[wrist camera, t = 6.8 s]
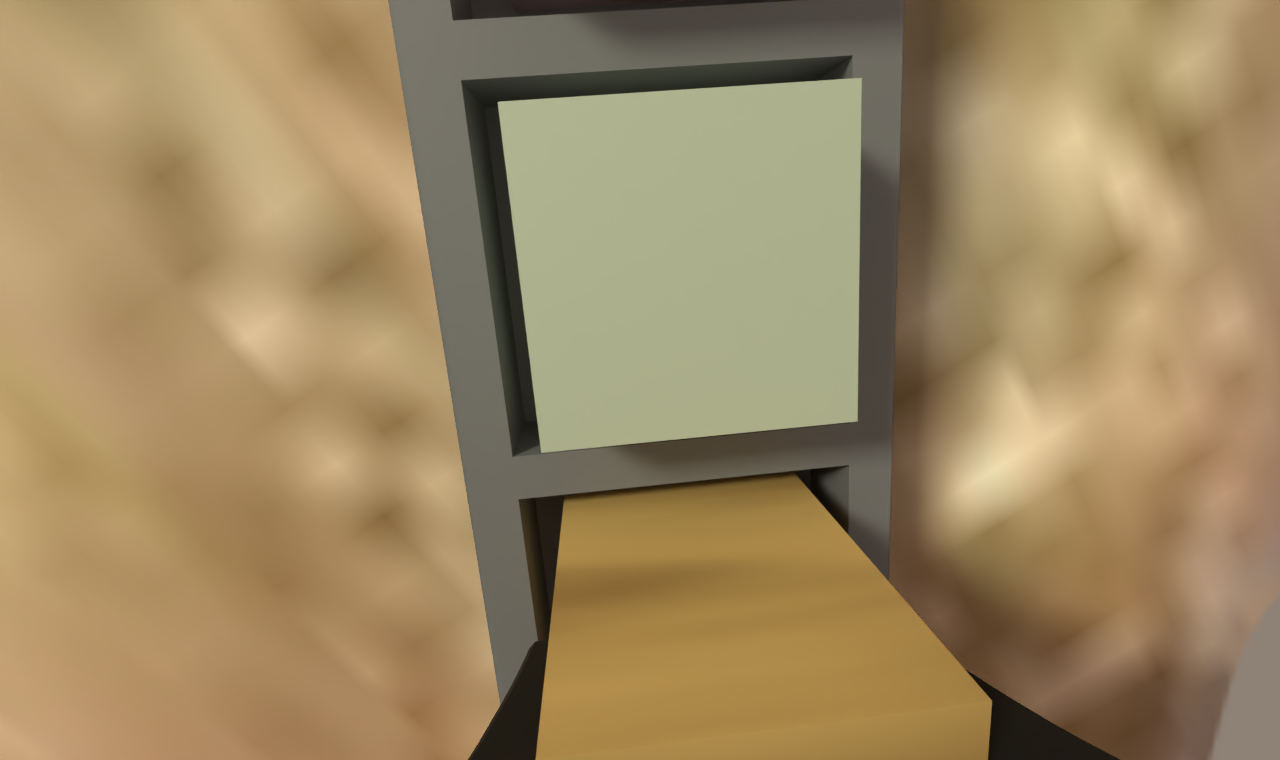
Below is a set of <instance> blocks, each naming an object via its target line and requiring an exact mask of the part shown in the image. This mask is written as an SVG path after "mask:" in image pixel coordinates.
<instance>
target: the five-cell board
mask: <svg viewBox="0 0 1280 760" xmlns="http://www.w3.org/2000/svg"><path fill="white" fill-rule="evenodd" d="M388 2H389V8H390V14H391V20H392V27H393V33H394V39H395V45H396V52H397V58H398V64H399V71H400V77H401V83H402V89H403V96H404V102H405V108H406V115H407V121H408V127H409V133H410V140H411V146H412V152H413V158H414V165H415V171H416V177H417V184H418V190H419V196H420V202H421V209H422V215H423V221H424V227H425V234H426V240H427V246H428V253H429V259H430V265H431V271H432V278H433V284H434V290H435V296H436V303H437V309H438V315H439V322H440V328H441V334H442V340H443V347H444V353H445V359H446V366H447V372H448V378H449V384H450V391H451V397H452V403H453V409H454V416H455V422H456V428H457V435H458V441H459V447H460V453H461V460H462V466H463V472H464V478H465V485H466V491H467V497H468V504H469V510H470V516H471V522H472V529H473V535H474V541H475V547H476V554H477V560H478V566H479V573H480V579H481V585H482V591H483V598H484V604H485V610H486V617H487V623H488V629H489V635H490V642H491V648H492V654H493V660H494V667H495V673H496V679H497V686H498V692H499V698H500V704H502V702H503V700H504V698H505V696H506V694H507V692H508V691H509V689H510V687H511V685H512V683H513V681H514V679H515V677H516V675H517V673H518V671H519V669H520V667H521V665H522V663H523V661H524V659H525V657H526V655H527V652H528V650H529V648H530V647H531V646H532V645H533V644H534V642H536V641H544V640H549V632H550V623H551V614H552V605H553V596H554V587H555V577H556V568H557V559H558V550H559V541H560V532H561V523H562V514H563V504H564V495H571V494H581V493H590V492H600V491H609V490H619V489H629V488H638V487H648V486H657V485H667V484H676V483H686V482H696V481H705V480H715V479H724V478H734V477H744V476H753V475H763V474H772V473H782V472H791V471H793V472H794V473H795V474H796V475H797V476H798V478H799V479H800V480H801V481H802V482H803V483H804V484H805V486H806V487H807V488H808V489H809V490H810V491H811V492H812V494H813V495H814V496H815V497H816V498H817V499H818V501H819V502H820V503H821V504H822V505H823V506H824V507H825V509H826V510H827V511H828V512H829V513H830V514H831V516H832V517H833V518H834V519H835V520H836V521H837V522H838V524H839V525H840V526H841V527H842V528H843V529H844V531H845V532H846V533H847V534H848V535H849V536H850V537H851V539H852V540H853V541H854V542H855V543H856V544H857V546H858V547H859V548H860V549H861V550H862V551H863V552H864V554H865V555H866V556H867V557H868V558H869V559H870V561H871V562H872V563H873V564H874V565H875V566H876V567H877V569H878V570H879V571H880V572H881V573H882V574H883V576H884V577H885V578H886V579H887V580H888V576H889V540H890V503H891V466H892V429H893V392H894V356H895V319H896V282H897V245H898V209H899V172H900V135H901V98H902V61H903V25H904V0H388Z"/></svg>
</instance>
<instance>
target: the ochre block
mask: <svg viewBox="0 0 1280 760" xmlns="http://www.w3.org/2000/svg"><path fill="white" fill-rule="evenodd" d="M991 710H992V700H991V699H990V698H989V697H988V696H987V694H986V693H985V692H984V691H983V690H982V689H981V687H980V686H979V685H978V684H977V683H976V682H975V681H974V679H973V678H972V677H971V676H970V675H969V674H968V672H967V671H966V670H965V669H964V668H963V667H962V666H961V664H960V663H959V662H958V661H957V660H956V659H955V657H954V656H953V655H952V654H951V653H950V652H949V651H948V649H947V648H946V647H945V646H944V645H943V644H942V642H941V641H940V640H939V639H938V638H937V637H936V636H935V634H934V633H933V632H932V631H931V630H930V629H929V627H928V626H927V625H926V624H925V623H924V622H923V621H922V619H921V618H920V617H919V616H918V615H917V614H916V612H915V611H914V610H913V609H912V608H911V607H910V606H909V604H908V603H907V602H906V601H905V600H904V599H903V597H902V596H901V595H900V594H899V593H898V592H897V591H896V589H895V588H894V587H893V586H892V585H891V584H890V582H889V581H888V580H887V579H886V578H885V577H884V576H883V574H882V573H881V572H880V571H879V570H878V569H877V567H876V566H875V565H874V564H873V563H872V562H871V561H870V559H869V558H868V557H867V556H866V555H865V554H864V552H863V551H862V550H861V549H860V548H859V547H858V546H857V544H856V543H855V542H854V541H853V540H852V539H851V537H850V536H849V535H848V534H847V533H846V532H845V531H844V529H843V528H842V527H841V526H840V525H839V524H838V522H837V521H836V520H835V519H834V518H833V517H832V516H831V514H830V513H829V512H828V511H827V510H826V509H825V507H824V506H823V505H822V504H821V503H820V502H819V501H818V499H817V498H816V497H815V496H814V495H813V494H812V492H811V491H810V490H809V489H808V488H807V487H806V486H805V484H804V483H803V482H802V481H801V480H800V479H799V478H798V476H797V475H796V474H795V473H794V472H793V471H791V472H782V473H772V474H763V475H753V476H744V477H734V478H724V479H715V480H705V481H696V482H686V483H676V484H667V485H657V486H648V487H638V488H629V489H619V490H609V491H600V492H590V493H581V494H571V495H564V504H563V514H562V523H561V532H560V541H559V550H558V559H557V568H556V577H555V587H554V596H553V605H552V614H551V623H550V632H549V641H548V650H547V660H546V669H545V678H544V687H543V696H542V705H541V714H540V723H539V733H538V742H537V751H536V760H988V751H989V737H990V724H991Z"/></svg>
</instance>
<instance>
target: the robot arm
mask: <svg viewBox="0 0 1280 760" xmlns="http://www.w3.org/2000/svg"><path fill="white" fill-rule="evenodd" d="M548 641H549V640H544V641H536V642H534V644H533V645H532V646H531V647H530V648H529V650H528V652H527V655H526V657H525V659H524V661H523V663H522V665H521V667H520V669H519V671H518V673H517V675H516V677H515V679H514V681H513V683H512V685H511V687H510V689H509V691H508V692H507V694H506V696H505V698H504V700H503V702H502V704H501V705H500V707H499V709H498V711H497V712H496V714H495V716H494V717H493V719H492V721H491V723H490V724H489V726H488V728H487V729H486V731H485V733H484V734H483V736H482V738H481V740H480V741H479V743H478V745H477V746H476V748H475V749H474V751H473V753H472V754H471V756H470V757H469V759H468V760H536V751H537V742H538V733H539V723H540V714H541V705H542V696H543V687H544V678H545V669H546V660H547V650H548ZM965 670H966V669H965ZM966 671H967V670H966ZM967 672H968V674H969V675H970V676H971V677H972V678H973V679H974V681H975V682H976V683H977V684H978V685H979V686H980V687H981V689H982V690H983V691H984V692H985V693H986V694H987V696H988V697H989V698H990V699H991V700H992V710H991V724H990V737H989V751H988V760H1120V759H1118V758H1116V757H1114V756H1112V755H1110V754H1108V753H1106V752H1104V751H1102V750H1101V749H1099V748H1097V747H1095V746H1093V745H1091V744H1089V743H1087V742H1085V741H1083V740H1082V739H1080V738H1078V737H1076V736H1074V735H1072V734H1071V733H1069V732H1067V731H1065V730H1064V729H1062V728H1060V727H1058V726H1056V725H1055V724H1053V723H1051V722H1049V721H1048V720H1046V719H1044V718H1043V717H1041V716H1039V715H1038V714H1036V713H1034V712H1033V711H1031V710H1029V709H1028V708H1026V707H1024V706H1023V705H1021V704H1019V703H1018V702H1016V701H1014V700H1013V699H1011V698H1009V697H1008V696H1006V695H1005V694H1003V693H1001V692H1000V691H998V690H997V689H995V688H994V687H992V686H990V685H989V684H987V683H986V682H984V681H983V680H981V679H979V678H978V677H976V676H975V675H973V674H972V673H970V672H969V671H967Z"/></svg>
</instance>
